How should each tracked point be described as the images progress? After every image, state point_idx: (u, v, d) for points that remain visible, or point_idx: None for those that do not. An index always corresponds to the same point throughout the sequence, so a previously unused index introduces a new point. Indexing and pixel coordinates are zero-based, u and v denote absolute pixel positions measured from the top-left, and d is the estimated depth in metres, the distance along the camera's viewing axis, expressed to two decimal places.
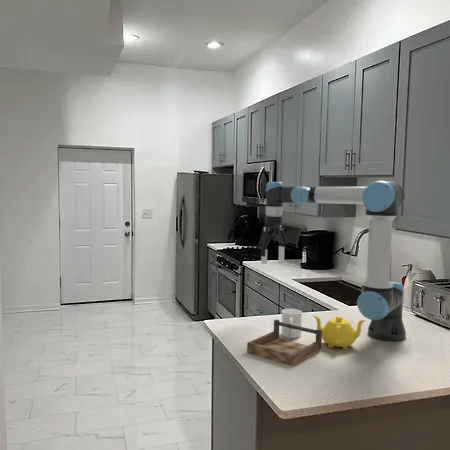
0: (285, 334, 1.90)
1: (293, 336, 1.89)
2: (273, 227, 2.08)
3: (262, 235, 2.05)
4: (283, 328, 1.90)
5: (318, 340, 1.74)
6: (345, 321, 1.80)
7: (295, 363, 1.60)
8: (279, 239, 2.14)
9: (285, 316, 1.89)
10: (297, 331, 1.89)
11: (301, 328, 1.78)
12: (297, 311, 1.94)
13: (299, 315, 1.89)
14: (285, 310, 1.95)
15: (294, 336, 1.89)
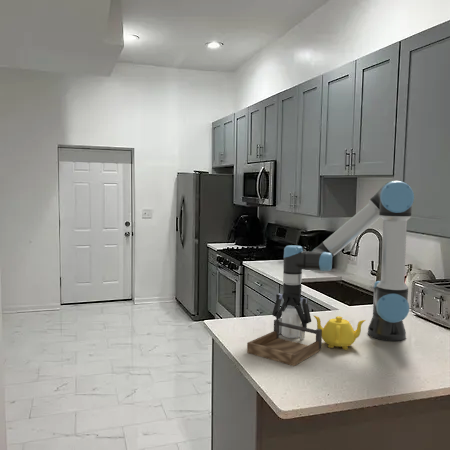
0: (285, 334, 1.90)
1: (293, 336, 1.89)
2: (286, 294, 1.90)
3: None
4: (283, 328, 1.90)
5: (318, 340, 1.74)
6: (345, 321, 1.80)
7: (295, 363, 1.60)
8: None
9: (286, 316, 1.89)
10: (297, 331, 1.89)
11: (301, 328, 1.78)
12: None
13: None
14: (285, 310, 1.95)
15: (294, 336, 1.89)
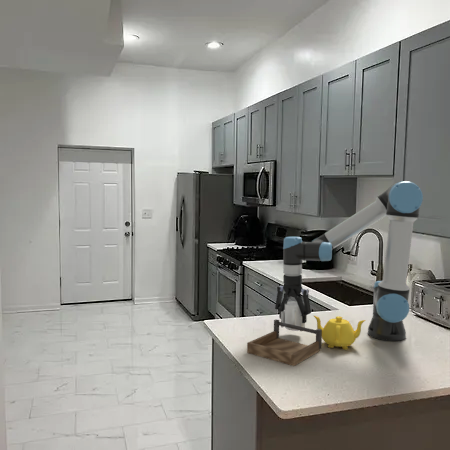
0: None
1: None
2: (287, 285, 1.89)
3: None
4: (286, 321, 1.90)
5: (318, 340, 1.74)
6: (345, 321, 1.80)
7: (295, 363, 1.60)
8: None
9: (289, 309, 1.88)
10: None
11: (301, 328, 1.78)
12: None
13: None
14: (288, 303, 1.94)
15: None
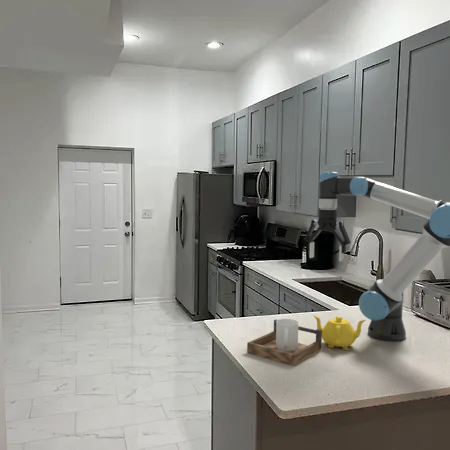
0: (280, 347, 1.71)
1: (289, 349, 1.70)
2: (322, 221, 1.93)
3: None
4: (278, 340, 1.72)
5: (318, 340, 1.74)
6: (345, 321, 1.80)
7: (295, 363, 1.60)
8: None
9: (280, 327, 1.71)
10: (293, 344, 1.71)
11: (301, 328, 1.78)
12: (293, 321, 1.76)
13: (295, 326, 1.71)
14: (280, 320, 1.77)
15: (290, 349, 1.71)
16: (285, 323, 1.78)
